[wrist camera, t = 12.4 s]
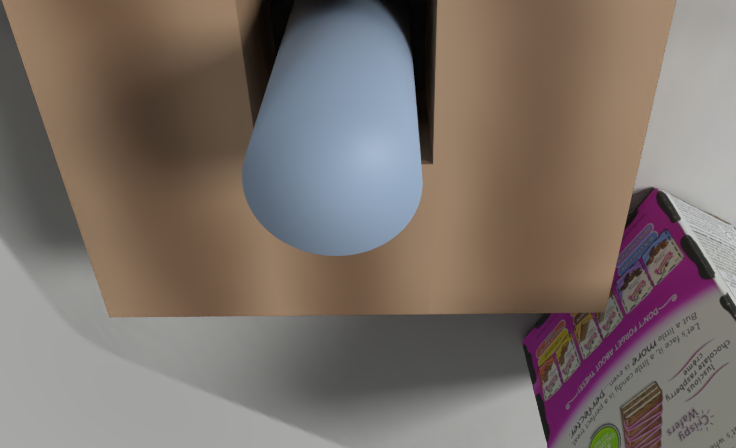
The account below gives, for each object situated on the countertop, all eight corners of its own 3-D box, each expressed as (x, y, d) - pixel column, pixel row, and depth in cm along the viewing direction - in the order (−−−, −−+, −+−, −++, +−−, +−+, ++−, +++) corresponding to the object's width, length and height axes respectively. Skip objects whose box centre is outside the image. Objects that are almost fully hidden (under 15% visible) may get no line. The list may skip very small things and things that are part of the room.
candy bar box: (595, 368, 38) (707, 713, 25) (518, 339, 37) (592, 684, 24) (742, 221, 32) (992, 570, 19) (656, 180, 31) (858, 522, 18)
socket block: (665, -316, 21) (751, -327, 16) (572, 224, 33) (605, 312, 28) (10, -290, 22) (-98, -293, 17) (149, 230, 33) (109, 317, 28)
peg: (409, -44, 26) (423, 101, 16) (408, 71, 28) (421, 255, 19) (287, -41, 26) (229, 104, 16) (298, 73, 29) (253, 257, 19)
